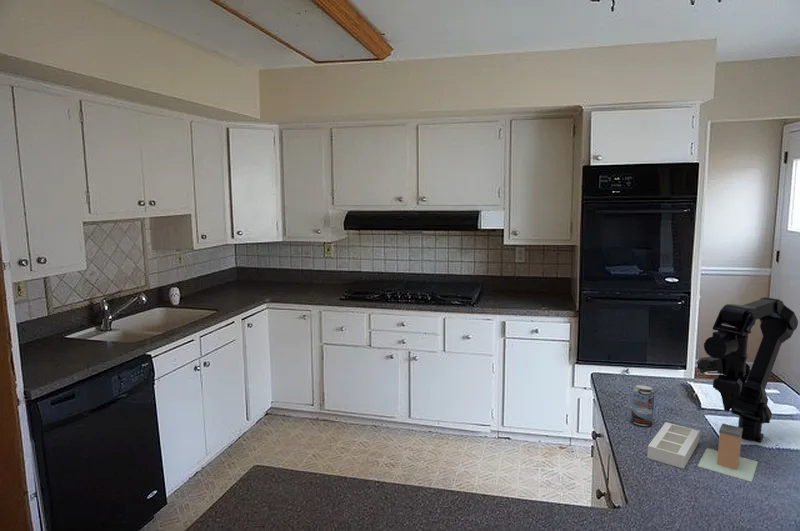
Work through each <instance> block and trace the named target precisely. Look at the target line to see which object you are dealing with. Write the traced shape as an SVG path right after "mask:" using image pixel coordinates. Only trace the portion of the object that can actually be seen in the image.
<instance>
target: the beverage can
mask: <svg viewBox="0 0 800 531" xmlns="http://www.w3.org/2000/svg"><path fill="white" fill-rule="evenodd" d="M632 391H633V392H632V399H631V400H632V401H631V413H630V414H631V416H630V420H631V422H632V423H633V424H635V425H637V426H642V427H649V426H650V425H652V424H653V420H654V419H653V417H654V416H653V415H654V405H655V391H654V388H653V387H651V386H648V385H642V384H636V385H635V387H634V389H633V390H632Z"/></svg>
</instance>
